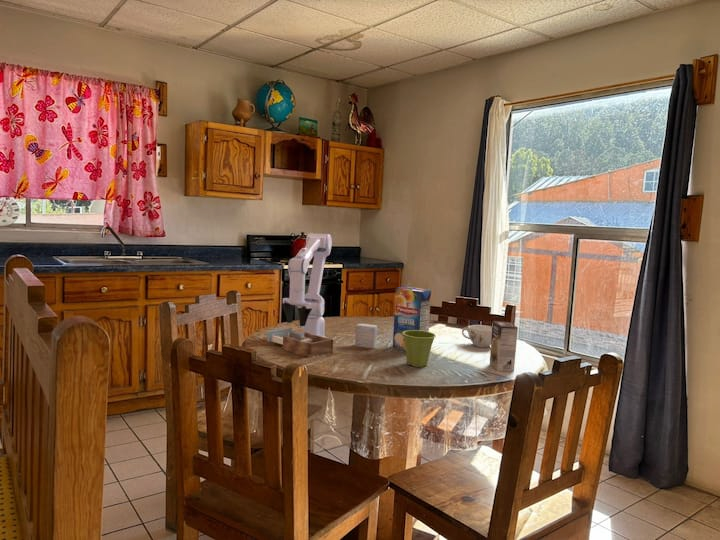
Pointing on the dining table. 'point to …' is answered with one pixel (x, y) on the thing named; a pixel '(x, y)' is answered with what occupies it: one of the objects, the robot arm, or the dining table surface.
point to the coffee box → (503, 346)
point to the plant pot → (418, 347)
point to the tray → (278, 335)
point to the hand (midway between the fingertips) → (296, 324)
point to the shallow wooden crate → (308, 345)
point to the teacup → (479, 335)
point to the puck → (296, 335)
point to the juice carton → (410, 313)
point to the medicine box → (366, 336)
